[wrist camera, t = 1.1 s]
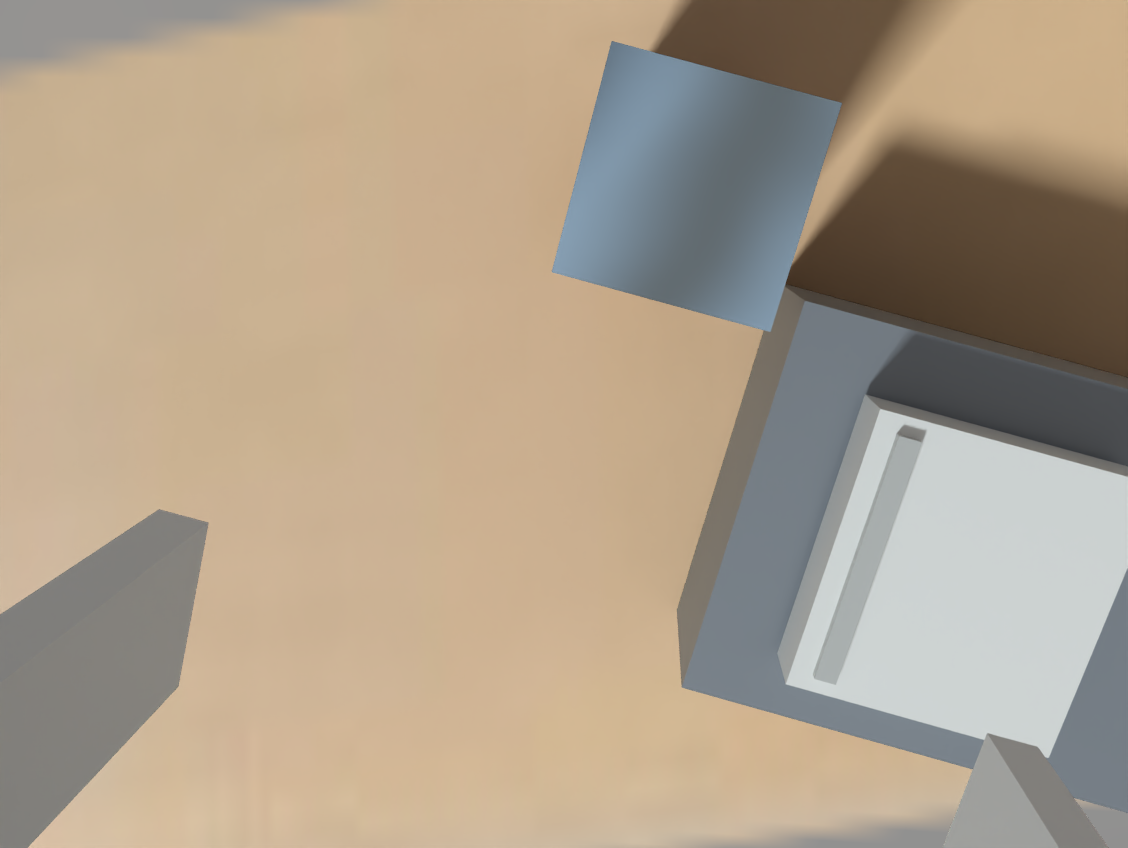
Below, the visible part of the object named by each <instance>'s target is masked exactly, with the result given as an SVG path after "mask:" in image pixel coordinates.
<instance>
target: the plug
mask: <svg viewBox="0 0 1128 848" xmlns="http://www.w3.org/2000/svg"><path fill="white" fill-rule="evenodd" d="M841 105H842V103H840V102H836V101H833V100H829V99H825V98H821V97H818V96H814V95H810V94H807V93H803V92H799V91H795V90H792V89H788V88H784V87H781V86H777V85H773V84H769V83H766V82H762V81H758V80H755V79H751V78H747V77H743V76H740V75H736V74H732V73H729V72H725V71H721V70H717V69H714V68H710V67H706V66H703V65H699V64H695V63H691V62H688V61H684V60H680V59H677V58H673V57H669V56H665V55H662V54H658V53H654V52H651V51H647V50H643V49H639V48H636V47H632V46H628V45H625V44H621V43H617V42H613V41H612V42H611V46H610V50H609V54H608V58H607V62H606V65H605V69H604V73H603V77H602V81H601V85H600V89H599V92H598V96H597V100H596V104H595V108H594V112H593V115H592V119H591V123H590V127H589V131H588V135H587V139H586V142H585V146H584V150H583V154H582V158H581V162H580V165H579V169H578V173H577V177H576V181H575V185H574V189H573V192H572V196H571V200H570V204H569V208H568V212H567V215H566V219H565V223H564V227H563V231H562V235H561V239H560V242H559V246H558V250H557V254H556V258H555V262H554V265H553V269H552V272H553V273H557V274H561V275H564V276H568V277H572V278H575V279H579V280H582V281H586V282H590V283H593V284H597V285H601V286H604V287H608V288H612V289H615V290H619V291H623V292H626V293H630V294H634V295H637V296H641V297H645V298H648V299H652V300H655V301H659V302H663V303H666V304H670V305H674V306H677V307H681V308H685V309H688V310H692V311H696V312H699V313H703V314H707V315H710V316H714V317H718V318H721V319H725V320H728V321H732V322H736V323H739V324H743V325H747V326H750V327H754V328H758V329H761V330H765V331H769V332H771V328H772V325H773V322H774V319H775V316H776V312H777V309H778V306H779V303H780V300H781V296H782V293H783V290H784V287H785V284H786V281H787V277H788V274H789V271H790V268H791V265H792V261H793V258H794V255H795V252H796V249H797V245H798V242H799V239H800V236H801V233H802V229H803V226H804V223H805V220H806V217H807V213H808V210H809V207H810V204H811V201H812V197H813V194H814V191H815V188H816V185H817V181H818V178H819V175H820V172H821V169H822V165H823V162H824V159H825V156H826V153H827V149H828V146H829V143H830V140H831V137H832V133H833V130H834V127H835V124H836V121H837V117H838V114H839V111H840V108H841Z"/></svg>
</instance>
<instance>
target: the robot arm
mask: <svg viewBox="0 0 1128 848" xmlns="http://www.w3.org/2000/svg"><path fill="white" fill-rule="evenodd" d="M207 529H208V522H204V521H200V520H197V519H193V518H189V517H186V516H182V515H178V514H174V513H171V512H167V511H163V510H160V509H159V510H157V511H156V512H154V513H153V514H151V515H150V516H148V517H147V518H145V519H144V520H142V521H141V522H139V523H138V524H136V525H135V526H133V527H132V528H130V529H129V530H127V531H126V532H124V533H123V534H121V535H120V536H118V537H117V538H115V539H114V540H112V541H111V542H109V543H108V544H106V545H105V546H103V547H102V548H100V549H99V550H97V551H96V552H94V553H93V554H91V555H89V556H88V557H86V558H85V559H83V560H82V561H80V562H79V563H77V564H76V565H74V566H73V567H71V568H70V569H68V570H67V571H65V572H64V573H62V574H61V575H59V576H58V577H56V578H55V579H53V580H52V581H50V582H49V583H47V584H46V585H44V586H43V587H41V588H40V589H38V590H37V591H35V592H34V593H32V594H31V595H29V596H28V597H26V598H24V599H23V600H21V601H20V602H18V603H17V604H15V605H14V606H12V607H11V608H9V609H8V610H6V611H5V612H3V613H2V614H0V848H28V847H29V846H30V844H31V843H32V842H33V841H34V840H35V839H36V838H37V837H38V836H39V835H40V834H41V833H42V832H43V831H44V830H45V828H46V827H47V826H48V825H49V824H50V823H51V822H52V821H53V820H54V819H55V818H56V817H57V816H58V815H59V814H60V812H61V811H62V810H63V809H64V808H65V807H66V806H67V805H68V804H69V803H70V802H71V801H72V800H73V799H74V797H75V796H76V795H77V794H78V793H79V792H80V791H81V790H82V789H83V788H84V787H85V786H86V785H87V784H88V783H89V781H90V780H91V779H92V778H93V777H94V776H95V775H96V774H97V773H98V772H99V771H100V770H101V769H102V768H103V767H104V765H105V764H106V763H107V762H108V761H109V760H110V759H111V758H112V757H113V756H114V755H115V754H116V753H117V752H118V750H119V749H120V748H121V747H122V746H123V745H124V744H125V743H126V742H127V741H128V740H129V739H130V738H131V737H132V736H133V734H134V733H135V732H136V731H137V730H138V729H139V728H140V727H141V726H142V725H143V724H144V723H145V722H146V721H147V720H148V718H149V717H150V716H151V715H152V714H153V713H154V712H155V711H156V710H157V709H158V708H159V707H160V706H161V705H162V703H163V702H164V701H165V700H166V699H167V698H168V697H169V696H170V695H171V694H172V693H173V692H174V691H175V690H176V689H177V687H178V686H179V680H180V675H181V669H182V664H183V658H184V653H185V648H186V642H187V637H188V631H189V626H190V621H191V615H192V610H193V604H194V599H195V594H196V588H197V583H198V577H199V572H200V567H201V561H202V556H203V550H204V545H205V539H206V534H207ZM943 848H1109V847H1108V846H1107V845H1106V844H1105V842H1104V840H1103V839H1102V837H1101V836H1100V835H1099V833H1098V832H1097V830H1096V829H1095V827H1094V826H1093V825H1092V823H1091V822H1090V820H1089V819H1088V818H1087V816H1086V815H1085V813H1084V812H1083V810H1082V809H1081V807H1080V806H1079V805H1078V803H1077V802H1076V800H1075V799H1074V798H1073V796H1072V795H1071V793H1070V792H1069V790H1068V789H1067V788H1066V786H1065V785H1064V783H1063V782H1062V780H1061V779H1060V778H1059V776H1058V775H1057V773H1056V772H1055V770H1054V769H1053V768H1052V766H1051V765H1050V763H1049V762H1048V760H1047V759H1046V758H1045V756H1044V755H1043V753H1042V752H1041V750H1040V749H1039V748H1038V747H1037V746H1033V745H1029V744H1026V743H1022V742H1018V741H1015V740H1011V739H1007V738H1004V737H1000V736H996V735H992V734H989V733H987V735H986V737H985V740H984V742H983V745H982V748H981V750H980V753H979V755H978V758H977V760H976V763H975V766H974V768H973V771H972V773H971V776H970V778H969V781H968V784H967V786H966V789H965V791H964V794H963V796H962V799H961V802H960V804H959V807H958V809H957V812H956V815H955V817H954V820H953V822H952V825H951V827H950V830H949V833H948V835H947V838H946V840H945V843H944V845H943Z"/></svg>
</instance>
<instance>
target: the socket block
mask: <svg viewBox="0 0 1128 848" xmlns="http://www.w3.org/2000/svg"><path fill="white" fill-rule="evenodd" d="M865 394H866V395H870V396H873V397H877V398H880V399H884V400H888V401H891V402H895V403H899V404H902V405H906V406H910V407H913V408H917V409H921V410H924V411H928V412H931V413H935V414H939V415H942V416H946V417H950V418H953V419H957V420H961V421H964V422H968V423H971V424H975V425H979V426H982V427H986V428H990V429H993V430H997V431H1001V432H1004V433H1008V434H1012V435H1015V436H1019V437H1022V438H1026V439H1030V440H1033V441H1037V442H1041V443H1044V444H1048V445H1052V446H1055V447H1059V448H1062V449H1066V450H1070V451H1073V452H1077V453H1081V454H1084V455H1088V456H1092V457H1095V458H1099V459H1103V460H1106V461H1110V462H1113V463H1117V464H1121V465H1124V466H1128V377H1124V376H1120V375H1117V374H1113V373H1109V372H1106V371H1102V370H1098V369H1095V368H1091V367H1087V366H1084V365H1080V364H1076V363H1073V362H1069V361H1065V360H1062V359H1058V358H1054V357H1051V356H1047V355H1043V354H1040V353H1036V352H1032V351H1029V350H1025V349H1021V348H1018V347H1014V346H1010V345H1007V344H1003V343H999V342H996V341H992V340H988V339H985V338H981V337H977V336H974V335H970V334H966V333H963V332H959V331H955V330H952V329H948V328H944V327H941V326H937V325H933V324H930V323H926V322H922V321H919V320H915V319H911V318H908V317H904V316H900V315H897V314H893V313H889V312H886V311H882V310H878V309H875V308H871V307H868V306H864V305H860V304H857V303H853V302H849V301H846V300H842V299H838V298H835V297H831V296H827V295H824V294H820V293H816V292H813V291H809V290H805V289H802V288H798V287H794V286H791V285H787V284H785V287H784V290H783V293H782V296H781V300H780V303H779V306H778V309H777V312H776V316H775V319H774V322H773V325H772V328H771V332H769V331H765V330H764V332H763V335H762V338H761V342H760V345H759V348H758V351H757V354H756V358H755V361H754V364H753V367H752V371H751V374H750V377H749V380H748V383H747V387H746V390H745V393H744V396H743V399H742V403H741V406H740V409H739V412H738V415H737V419H736V422H735V425H734V428H733V432H732V435H731V438H730V441H729V444H728V448H727V451H726V454H725V457H724V460H723V464H722V467H721V470H720V473H719V477H718V480H717V483H716V486H715V489H714V493H713V496H712V499H711V502H710V505H709V509H708V512H707V515H706V518H705V522H704V525H703V528H702V531H701V534H700V538H699V541H698V544H697V547H696V550H695V554H694V557H693V560H692V563H691V567H690V570H689V573H688V576H687V579H686V583H685V586H684V589H683V592H682V595H681V599H680V602H679V605H678V608H677V619H678V635H679V651H680V667H681V683H682V688H686V689H689V690H693V691H696V692H700V693H703V694H707V695H710V696H714V697H717V698H721V699H725V700H728V701H732V702H735V703H739V704H742V705H746V706H749V707H753V708H757V709H760V710H764V711H767V712H771V713H774V714H778V715H781V716H785V717H789V718H792V719H796V720H799V721H803V722H806V723H810V724H813V725H817V726H821V727H824V728H828V729H831V730H835V731H838V732H842V733H845V734H849V735H852V736H856V737H860V738H863V739H867V740H870V741H874V742H877V743H881V744H884V745H888V746H892V747H895V748H899V749H902V750H906V751H909V752H913V753H916V754H920V755H924V756H927V757H931V758H934V759H938V760H941V761H945V762H948V763H952V764H956V765H959V766H963V767H966V768H970V769H973V768H974V766H975V763H976V760H977V758H978V755H979V753H980V750H981V748H982V745H983V742H984V740H983V739H979V738H975V737H972V736H968V735H965V734H961V733H958V732H954V731H951V730H947V729H943V728H940V727H936V726H933V725H929V724H926V723H922V722H918V721H915V720H911V719H908V718H904V717H901V716H897V715H894V714H890V713H886V712H883V711H879V710H876V709H872V708H869V707H865V706H862V705H858V704H854V703H851V702H847V701H844V700H840V699H837V698H833V697H829V696H826V695H822V694H819V693H815V692H812V691H808V690H805V689H801V688H797V687H794V686H790V685H787V684H786V683H785V679H784V676H783V672H782V668H781V665H780V661H779V658H778V654H777V653H778V650H779V647H780V644H781V641H782V638H783V635H784V632H785V629H786V626H787V623H788V620H789V617H790V614H791V611H792V608H793V605H794V602H795V599H796V596H797V594H798V591H799V588H800V585H801V582H802V579H803V576H804V573H805V570H806V567H807V564H808V561H809V558H810V555H811V552H812V549H813V546H814V543H815V540H816V537H817V534H818V532H819V529H820V526H821V523H822V520H823V517H824V514H825V511H826V508H827V505H828V502H829V499H830V496H831V493H832V490H833V487H834V484H835V481H836V478H837V475H838V472H839V470H840V467H841V464H842V461H843V458H844V455H845V452H846V449H847V446H848V443H849V440H850V437H851V434H852V431H853V428H854V425H855V422H856V419H857V416H858V413H859V410H860V408H861V405H862V402H863V399H864V396H865ZM1045 758H1046V759H1047V760H1048V762H1049V763H1050V765H1051V766H1052V768H1053V769H1054V770H1055V772H1056V773H1057V775H1058V776H1059V778H1060V779H1061V780H1062V782H1063V783H1064V785H1065V786H1066V788H1067V789H1068V790H1069V792H1070V793H1071V795H1072V796H1073V798H1076V799H1080V800H1083V801H1087V802H1091V803H1094V804H1098V805H1101V806H1105V807H1108V808H1112V809H1115V810H1119V811H1123V812H1126V813H1128V568H1127V571H1126V573H1125V575H1124V578H1123V580H1122V583H1121V585H1120V587H1119V590H1118V592H1117V595H1116V597H1115V599H1114V602H1113V604H1112V607H1111V609H1110V612H1109V614H1108V616H1107V619H1106V621H1105V624H1104V626H1103V628H1102V631H1101V633H1100V636H1099V638H1098V640H1097V643H1096V645H1095V648H1094V650H1093V652H1092V655H1091V657H1090V660H1089V662H1088V665H1087V667H1086V669H1085V672H1084V674H1083V677H1082V679H1081V681H1080V684H1079V686H1078V689H1077V691H1076V693H1075V696H1074V698H1073V701H1072V703H1071V705H1070V708H1069V710H1068V713H1067V715H1066V718H1065V720H1064V722H1063V725H1062V727H1061V730H1060V732H1059V734H1058V737H1057V739H1056V742H1055V744H1054V746H1053V749H1052V751H1051V754H1050V756H1049V758H1047V757H1045Z"/></svg>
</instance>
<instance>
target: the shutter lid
mask: <svg viewBox="0 0 1128 848" xmlns="http://www.w3.org/2000/svg"><path fill="white" fill-rule="evenodd" d="M1127 568H1128V466H1124V465H1121V464H1117V463H1113V462H1110V461H1106V460H1103V459H1099V458H1095V457H1092V456H1088V455H1084V454H1081V453H1077V452H1073V451H1070V450H1066V449H1062V448H1059V447H1055V446H1052V445H1048V444H1044V443H1041V442H1037V441H1033V440H1030V439H1026V438H1022V437H1019V436H1015V435H1012V434H1008V433H1004V432H1001V431H997V430H993V429H990V428H986V427H982V426H979V425H975V424H971V423H968V422H964V421H961V420H957V419H953V418H950V417H946V416H942V415H939V414H935V413H931V412H928V411H924V410H921V409H917V408H913V407H910V406H906V405H902V404H899V403H895V402H891V401H888V400H884V399H880V398H877V397H873V396H870V395H866V394H865V396H864V399H863V402H862V405H861V408H860V410H859V413H858V416H857V419H856V422H855V425H854V428H853V431H852V434H851V437H850V440H849V443H848V446H847V449H846V452H845V455H844V458H843V461H842V464H841V467H840V470H839V472H838V475H837V478H836V481H835V484H834V487H833V490H832V493H831V496H830V499H829V502H828V505H827V508H826V511H825V514H824V517H823V520H822V523H821V526H820V529H819V532H818V534H817V537H816V540H815V543H814V546H813V549H812V552H811V555H810V558H809V561H808V564H807V567H806V570H805V573H804V576H803V579H802V582H801V585H800V588H799V591H798V594H797V596H796V599H795V602H794V605H793V608H792V611H791V614H790V617H789V620H788V623H787V626H786V629H785V632H784V635H783V638H782V641H781V644H780V647H779V650H778V653H777V654H778V658H779V661H780V665H781V668H782V672H783V676H784V679H785V683H786V684H787V685H790V686H794V687H797V688H801V689H805V690H808V691H812V692H815V693H819V694H822V695H826V696H829V697H833V698H837V699H840V700H844V701H847V702H851V703H854V704H858V705H862V706H865V707H869V708H872V709H876V710H879V711H883V712H886V713H890V714H894V715H897V716H901V717H904V718H908V719H911V720H915V721H918V722H922V723H926V724H929V725H933V726H936V727H940V728H943V729H947V730H951V731H954V732H958V733H961V734H965V735H968V736H972V737H975V738H979V739H983V740H985V737H986V735H987V733H989V734H992V735H996V736H1000V737H1004V738H1007V739H1011V740H1015V741H1018V742H1022V743H1026V744H1029V745H1033V746H1037V747H1038V748H1039V749H1040V750H1041V752H1042V753H1043V755H1044V756H1045V757H1047V758H1049V756H1050V754H1051V751H1052V749H1053V746H1054V744H1055V742H1056V739H1057V737H1058V734H1059V732H1060V730H1061V727H1062V725H1063V722H1064V720H1065V718H1066V715H1067V713H1068V710H1069V708H1070V705H1071V703H1072V701H1073V698H1074V696H1075V693H1076V691H1077V689H1078V686H1079V684H1080V681H1081V679H1082V677H1083V674H1084V672H1085V669H1086V667H1087V665H1088V662H1089V660H1090V657H1091V655H1092V652H1093V650H1094V648H1095V645H1096V643H1097V640H1098V638H1099V636H1100V633H1101V631H1102V628H1103V626H1104V624H1105V621H1106V619H1107V616H1108V614H1109V612H1110V609H1111V607H1112V604H1113V602H1114V599H1115V597H1116V595H1117V592H1118V590H1119V587H1120V585H1121V583H1122V580H1123V578H1124V575H1125V573H1126V571H1127Z"/></svg>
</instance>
